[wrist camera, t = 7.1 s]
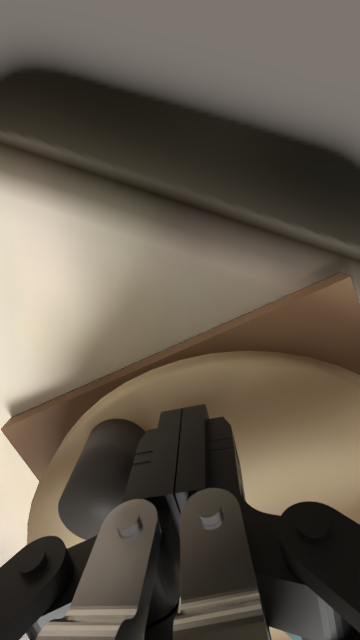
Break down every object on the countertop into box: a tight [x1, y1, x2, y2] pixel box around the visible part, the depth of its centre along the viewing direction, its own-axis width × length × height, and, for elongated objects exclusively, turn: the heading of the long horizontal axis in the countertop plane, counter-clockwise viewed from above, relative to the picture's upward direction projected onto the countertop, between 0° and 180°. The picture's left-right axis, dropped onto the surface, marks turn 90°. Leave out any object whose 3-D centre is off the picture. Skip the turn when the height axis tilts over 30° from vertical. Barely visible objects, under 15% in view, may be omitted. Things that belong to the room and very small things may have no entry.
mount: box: [1, 272, 360, 481], centre depth 18 cm, size 18×18×3 cm
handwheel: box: [27, 351, 360, 640], centre depth 14 cm, size 19×19×4 cm
